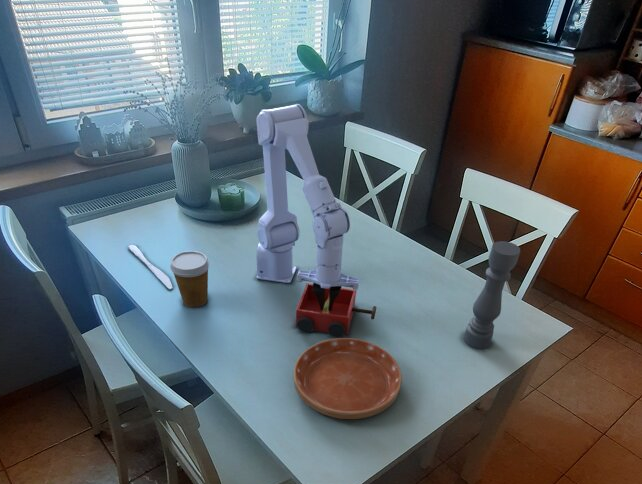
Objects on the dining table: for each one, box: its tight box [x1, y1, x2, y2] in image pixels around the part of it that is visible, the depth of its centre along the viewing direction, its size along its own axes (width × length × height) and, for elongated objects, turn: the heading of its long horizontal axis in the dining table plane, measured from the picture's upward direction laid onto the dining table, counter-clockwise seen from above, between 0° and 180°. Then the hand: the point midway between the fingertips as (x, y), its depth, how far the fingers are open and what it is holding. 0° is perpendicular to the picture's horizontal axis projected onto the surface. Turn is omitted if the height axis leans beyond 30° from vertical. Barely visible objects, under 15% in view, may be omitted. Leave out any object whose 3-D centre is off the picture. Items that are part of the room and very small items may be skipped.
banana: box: [322, 293, 330, 314], centre depth 127 cm, size 8×2×4 cm, turn 168°
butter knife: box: [128, 244, 173, 290], centre depth 144 cm, size 1×27×3 cm
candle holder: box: [463, 240, 521, 350], centre depth 115 cm, size 6×6×25 cm
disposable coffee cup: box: [169, 250, 210, 308], centre depth 129 cm, size 10×10×12 cm
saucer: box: [293, 337, 403, 420], centre depth 110 cm, size 23×23×4 cm
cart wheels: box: [296, 305, 377, 338], centre depth 127 cm, size 18×14×4 cm
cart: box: [295, 282, 357, 336], centre depth 127 cm, size 13×12×5 cm
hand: (326, 308), depth 127 cm, fingers closed on banana
